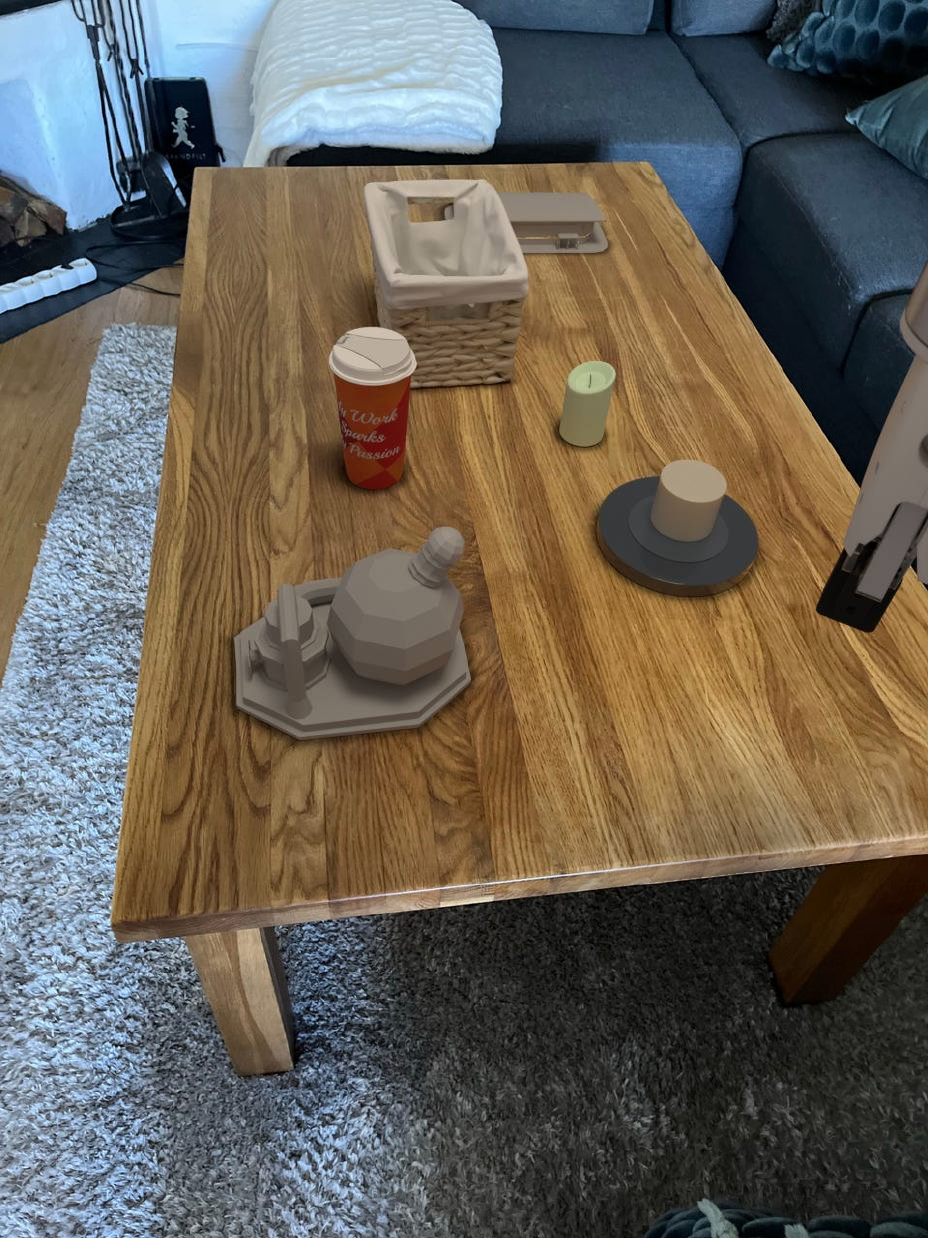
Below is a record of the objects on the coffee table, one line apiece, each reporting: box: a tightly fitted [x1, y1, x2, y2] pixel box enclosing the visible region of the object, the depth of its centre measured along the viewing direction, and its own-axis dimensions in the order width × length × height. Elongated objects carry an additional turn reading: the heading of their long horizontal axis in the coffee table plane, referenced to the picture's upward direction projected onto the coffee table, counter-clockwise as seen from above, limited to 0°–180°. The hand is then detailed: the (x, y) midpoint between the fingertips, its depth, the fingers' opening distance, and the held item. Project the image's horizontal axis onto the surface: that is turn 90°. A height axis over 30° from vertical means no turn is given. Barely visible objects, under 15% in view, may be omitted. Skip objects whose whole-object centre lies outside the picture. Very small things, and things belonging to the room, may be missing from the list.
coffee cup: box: [328, 326, 417, 491], centre depth 94 cm, size 8×8×15 cm
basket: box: [363, 178, 530, 389], centre depth 111 cm, size 24×16×15 cm
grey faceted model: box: [233, 526, 472, 741], centre depth 76 cm, size 20×15×15 cm
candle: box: [558, 360, 617, 448], centre depth 102 cm, size 5×5×8 cm
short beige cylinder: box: [650, 458, 728, 542], centre depth 92 cm, size 6×6×5 cm
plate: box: [595, 475, 759, 598], centre depth 94 cm, size 16×16×2 cm
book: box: [443, 191, 609, 254], centre depth 136 cm, size 15×23×4 cm, turn 97°
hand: (845, 613), depth 52 cm, fingers closed
